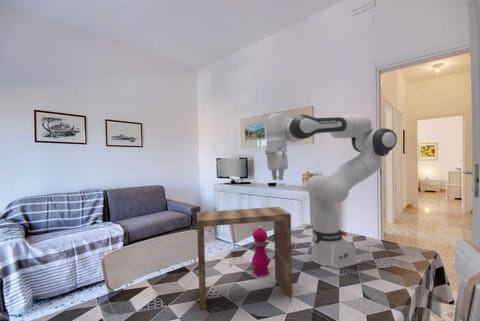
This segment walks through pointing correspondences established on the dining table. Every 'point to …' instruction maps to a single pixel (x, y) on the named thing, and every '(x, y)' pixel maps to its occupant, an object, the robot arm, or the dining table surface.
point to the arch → (250, 216)
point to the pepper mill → (260, 252)
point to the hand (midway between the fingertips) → (277, 180)
